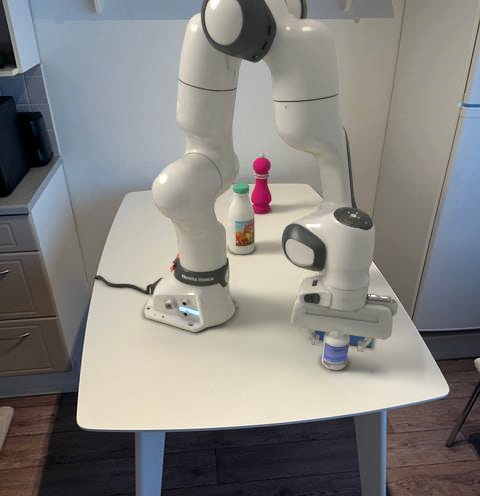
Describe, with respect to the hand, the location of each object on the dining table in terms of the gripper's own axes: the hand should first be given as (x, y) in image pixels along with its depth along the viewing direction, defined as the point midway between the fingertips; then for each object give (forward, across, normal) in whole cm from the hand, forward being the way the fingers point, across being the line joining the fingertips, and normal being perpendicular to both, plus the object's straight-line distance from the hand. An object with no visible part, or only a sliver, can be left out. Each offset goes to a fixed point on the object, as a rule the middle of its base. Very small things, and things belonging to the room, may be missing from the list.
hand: (337, 346), depth 103 cm
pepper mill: (+4, +34, -76) cm, 83 cm away
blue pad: (+4, -1, -17) cm, 17 cm away
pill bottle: (+4, 0, 0) cm, 5 cm away
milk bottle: (+4, +33, -46) cm, 57 cm away
